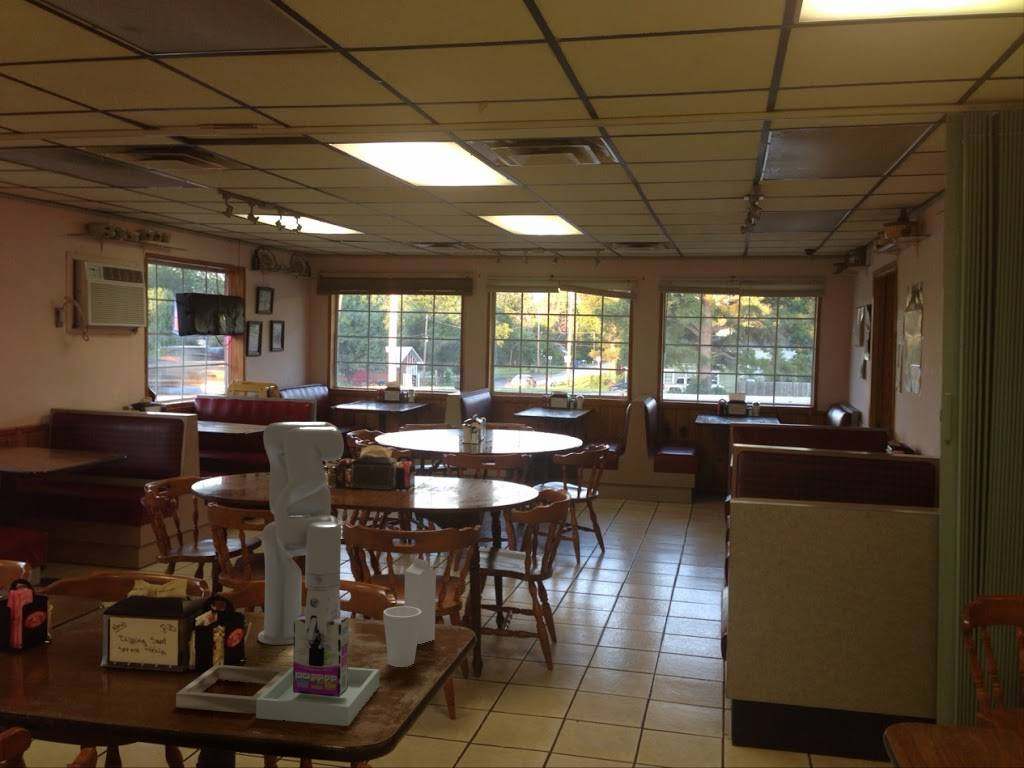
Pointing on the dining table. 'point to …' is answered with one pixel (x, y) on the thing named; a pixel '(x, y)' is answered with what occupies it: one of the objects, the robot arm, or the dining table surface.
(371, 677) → the green tray
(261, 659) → the dining table surface
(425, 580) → the milk
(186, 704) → the frame
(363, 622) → the dining table surface
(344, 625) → the candy bar box
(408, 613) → the foam cup
